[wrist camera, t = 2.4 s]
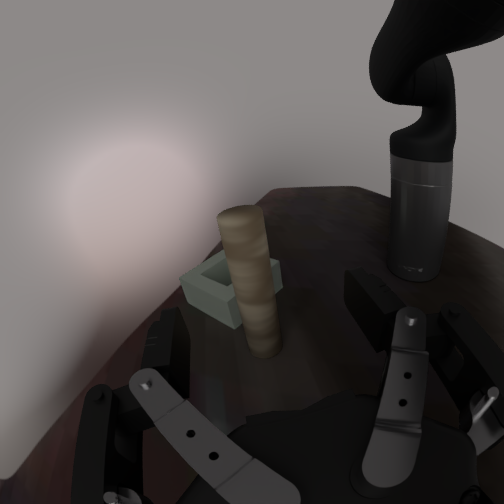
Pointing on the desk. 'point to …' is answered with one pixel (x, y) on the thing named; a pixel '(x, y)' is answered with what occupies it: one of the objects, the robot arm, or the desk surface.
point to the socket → (218, 289)
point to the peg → (252, 277)
